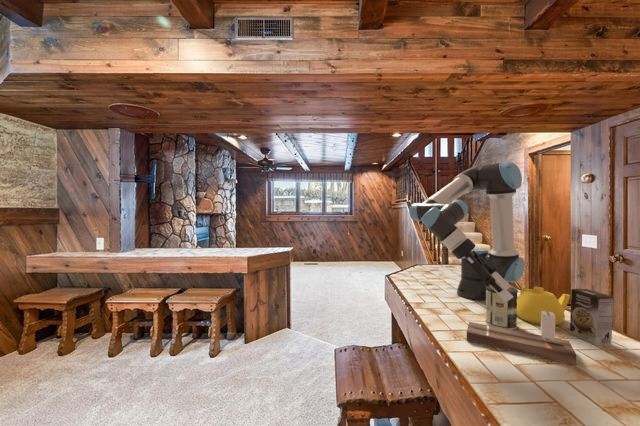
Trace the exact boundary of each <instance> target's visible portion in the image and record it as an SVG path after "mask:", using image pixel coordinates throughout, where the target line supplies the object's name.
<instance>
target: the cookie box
mask: <svg viewBox="0 0 640 426" xmlns="http://www.w3.org/2000/svg"><path fill="white" fill-rule="evenodd" d="M614 300H615V296H611V295H609V294H605V293H601V292H598V291H595V290H592V289H588V288H572V289H571V291H570V317H569V318H570V319H569V321H570V322H569V334H570V335H572V336H574V337H576V338H579V339H580V340H583V341H585V342H587V343H590V344H592V345H594V346H611V345H612V340H613V339H612V338H613V324H614V322H613V320H614V305H615V304H614V303H615V301H614Z"/></svg>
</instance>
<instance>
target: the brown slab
mask: <svg viewBox="0 0 640 426" xmlns="http://www.w3.org/2000/svg"><path fill="white" fill-rule="evenodd" d="M466 341H467V342H471V343H476V344H479V345H483V346H489V347H494V348H497V349H502V350H506V351H510V352H517V353H521V354H525V355H529V356H534V357H538V358H543V359H547V360H551V361H557V362H560V363H565V364H570V365H575V366H577V353H576V351H575V349H574V347H573V346H572V344H571V342H570V340H567V339H563V338H562V339H561V338H556V337H555V340H554V339H550V342H547V341H545V338H543V337H542V335H540V334H536V333H530V332H525V331H519V330H516V329H514V330H510V329H505V328H499V327H494V326H490V325H488V324H483V323H476V322H472V321H468V325H467V330H466Z"/></svg>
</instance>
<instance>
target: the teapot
mask: <svg viewBox="0 0 640 426" xmlns="http://www.w3.org/2000/svg"><path fill="white" fill-rule="evenodd" d="M570 299H571V294H568V293H567V294H566V293H562V295H561V296H560V297H559V298H557V297H556V296H555V294H554V293H552V292H550V291H546V290H545V288H544V287H541V286H533V288H528V287H525V288H522V289H521V290H520V294H519V295H517V318H519V319H522V320H523V321H526V322H528V323H532V324H537V325H540V326H541V311H548V312H553V313H554V315H555V326H558V325H560V324H562V323H563V322H564V321H565V318H566V317H565V310H566V308H567V306H568V303H569V300H570Z"/></svg>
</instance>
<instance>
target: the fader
mask: <svg viewBox="0 0 640 426" xmlns="http://www.w3.org/2000/svg"><path fill="white" fill-rule="evenodd" d="M540 334H541V336H542V337H543V338H545V341H547V342H550V339H554V340H555V338H556V325H555V315H554V313H553V312H548V311H541V325H540Z"/></svg>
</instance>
